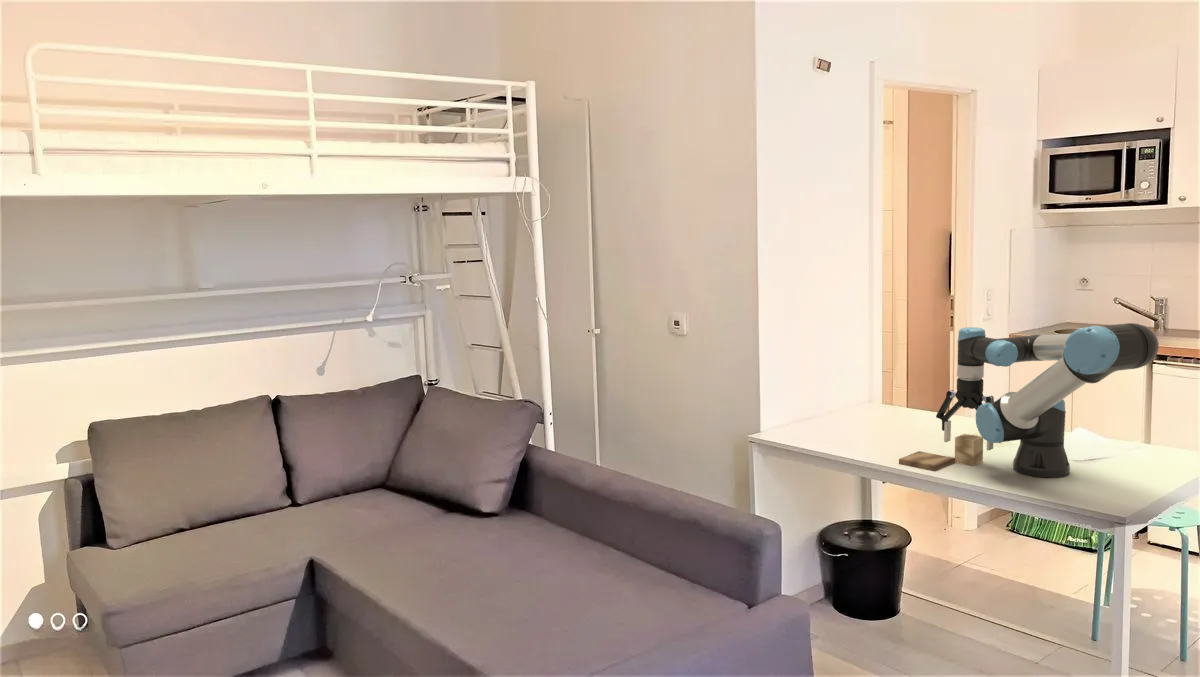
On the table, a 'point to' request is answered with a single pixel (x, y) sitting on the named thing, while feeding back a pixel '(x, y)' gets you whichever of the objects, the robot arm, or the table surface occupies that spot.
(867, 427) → the table surface
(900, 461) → the walnut board
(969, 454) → the oak block
